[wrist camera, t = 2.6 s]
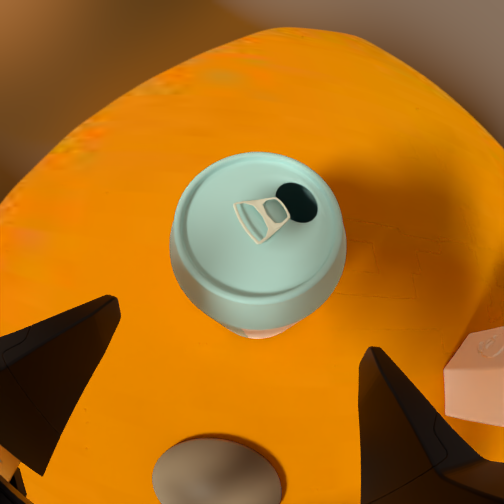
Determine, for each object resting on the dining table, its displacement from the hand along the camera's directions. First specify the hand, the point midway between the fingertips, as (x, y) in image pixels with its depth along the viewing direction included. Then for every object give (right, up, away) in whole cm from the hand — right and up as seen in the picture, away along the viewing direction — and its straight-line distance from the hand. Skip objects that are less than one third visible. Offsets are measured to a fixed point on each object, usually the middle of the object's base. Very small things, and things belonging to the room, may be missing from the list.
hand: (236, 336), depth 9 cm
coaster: (-2, -16, +6) cm, 17 cm away
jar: (+21, -9, +8) cm, 24 cm away
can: (+1, 0, +12) cm, 12 cm away
